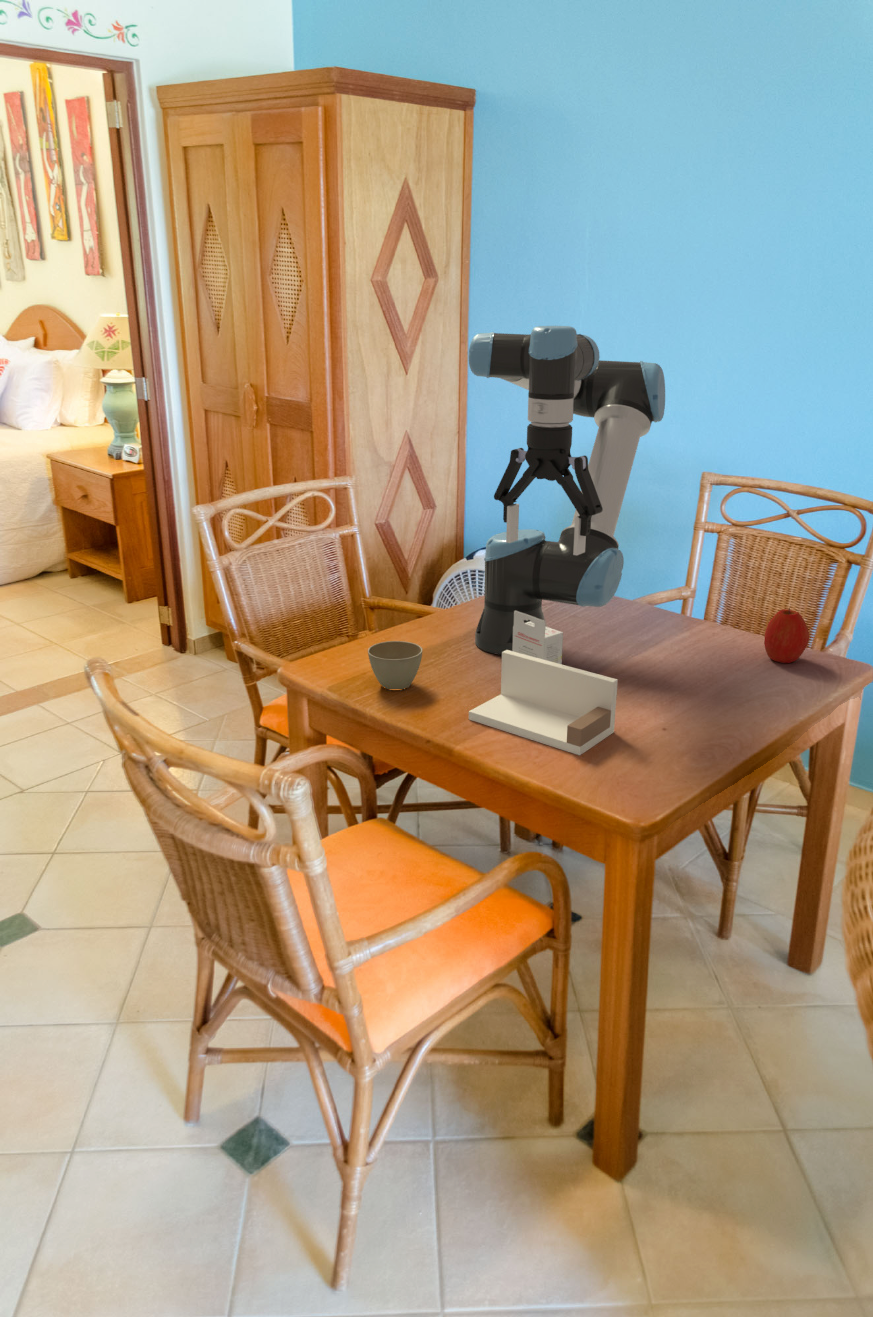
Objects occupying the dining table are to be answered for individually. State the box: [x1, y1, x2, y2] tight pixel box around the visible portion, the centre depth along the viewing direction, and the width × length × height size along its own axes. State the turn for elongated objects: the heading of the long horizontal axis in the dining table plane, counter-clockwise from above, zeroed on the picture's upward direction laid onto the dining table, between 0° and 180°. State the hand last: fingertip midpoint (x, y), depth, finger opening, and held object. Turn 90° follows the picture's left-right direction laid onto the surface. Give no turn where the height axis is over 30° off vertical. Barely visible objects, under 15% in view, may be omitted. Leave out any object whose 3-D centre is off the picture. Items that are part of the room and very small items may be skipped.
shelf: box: [468, 650, 619, 756], centre depth 170 cm, size 22×11×10 cm, turn 51°
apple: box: [763, 607, 810, 664], centre depth 199 cm, size 8×8×11 cm
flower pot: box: [367, 640, 423, 690], centre depth 187 cm, size 10×10×7 cm
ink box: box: [512, 610, 564, 665], centre depth 184 cm, size 8×5×15 cm, turn 39°
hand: (544, 547), depth 177 cm, fingers open, 13 cm apart
